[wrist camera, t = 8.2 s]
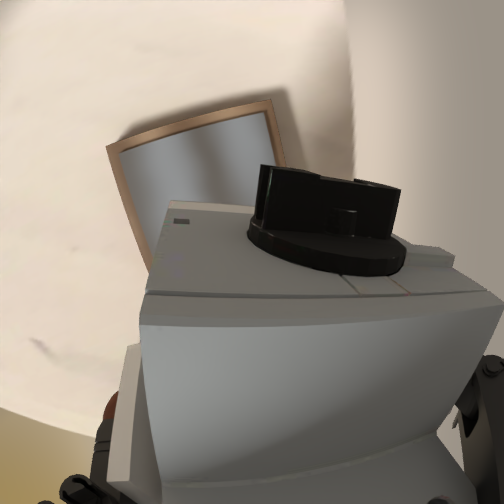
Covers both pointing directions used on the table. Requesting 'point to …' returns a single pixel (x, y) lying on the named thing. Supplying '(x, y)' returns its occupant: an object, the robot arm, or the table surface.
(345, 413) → the circuit breaker
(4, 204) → the table surface
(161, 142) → the framed panel
